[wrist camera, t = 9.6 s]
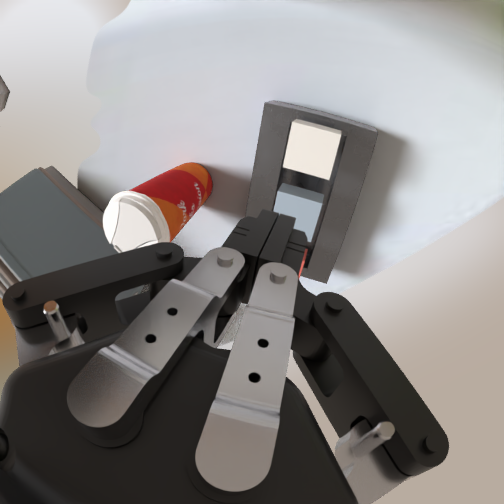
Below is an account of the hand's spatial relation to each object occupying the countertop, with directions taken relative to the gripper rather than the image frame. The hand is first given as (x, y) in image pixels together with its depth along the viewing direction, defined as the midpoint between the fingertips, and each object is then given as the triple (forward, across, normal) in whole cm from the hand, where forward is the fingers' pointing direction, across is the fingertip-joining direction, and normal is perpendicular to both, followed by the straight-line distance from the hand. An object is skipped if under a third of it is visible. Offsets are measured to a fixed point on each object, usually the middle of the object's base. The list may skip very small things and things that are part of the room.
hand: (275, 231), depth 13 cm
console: (+24, 0, +7) cm, 25 cm away
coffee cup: (+24, +15, +10) cm, 30 cm away
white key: (+21, 0, 0) cm, 21 cm away
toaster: (+24, +36, +28) cm, 51 cm away
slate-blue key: (+21, 0, +7) cm, 22 cm away
